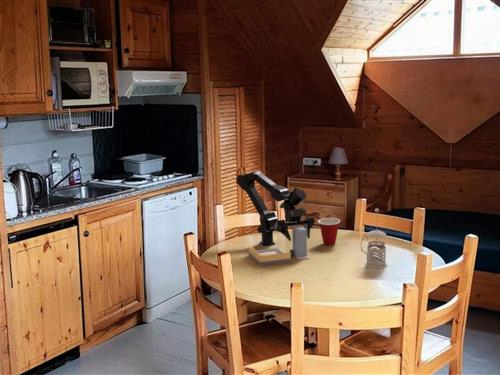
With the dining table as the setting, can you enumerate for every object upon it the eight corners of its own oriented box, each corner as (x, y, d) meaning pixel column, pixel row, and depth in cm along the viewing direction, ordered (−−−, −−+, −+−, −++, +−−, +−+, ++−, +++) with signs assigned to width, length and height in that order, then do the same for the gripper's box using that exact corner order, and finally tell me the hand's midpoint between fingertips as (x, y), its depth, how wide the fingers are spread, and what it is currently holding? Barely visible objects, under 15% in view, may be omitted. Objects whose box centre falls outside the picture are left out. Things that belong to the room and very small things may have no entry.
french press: (388, 268, 249) (389, 211, 245) (360, 267, 252) (360, 210, 247) (387, 261, 259) (388, 206, 254) (360, 261, 261) (361, 205, 257)
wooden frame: (248, 255, 274) (248, 246, 273) (277, 252, 278) (277, 242, 277) (260, 266, 257) (260, 256, 256) (290, 262, 261) (290, 253, 260)
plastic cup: (314, 245, 288) (314, 221, 286) (322, 240, 297) (322, 216, 295) (335, 247, 283) (335, 223, 281) (343, 242, 292) (343, 218, 290)
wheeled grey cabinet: (289, 255, 273) (289, 227, 271) (304, 253, 275) (304, 226, 273) (296, 260, 265) (295, 231, 263) (311, 258, 267) (311, 230, 265)
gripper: (275, 203, 269) (284, 232, 261) (313, 199, 274) (323, 228, 266) (270, 216, 278) (279, 245, 269) (307, 213, 283) (316, 240, 275)
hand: (299, 239), depth 270 cm, fingers open, 9 cm apart
